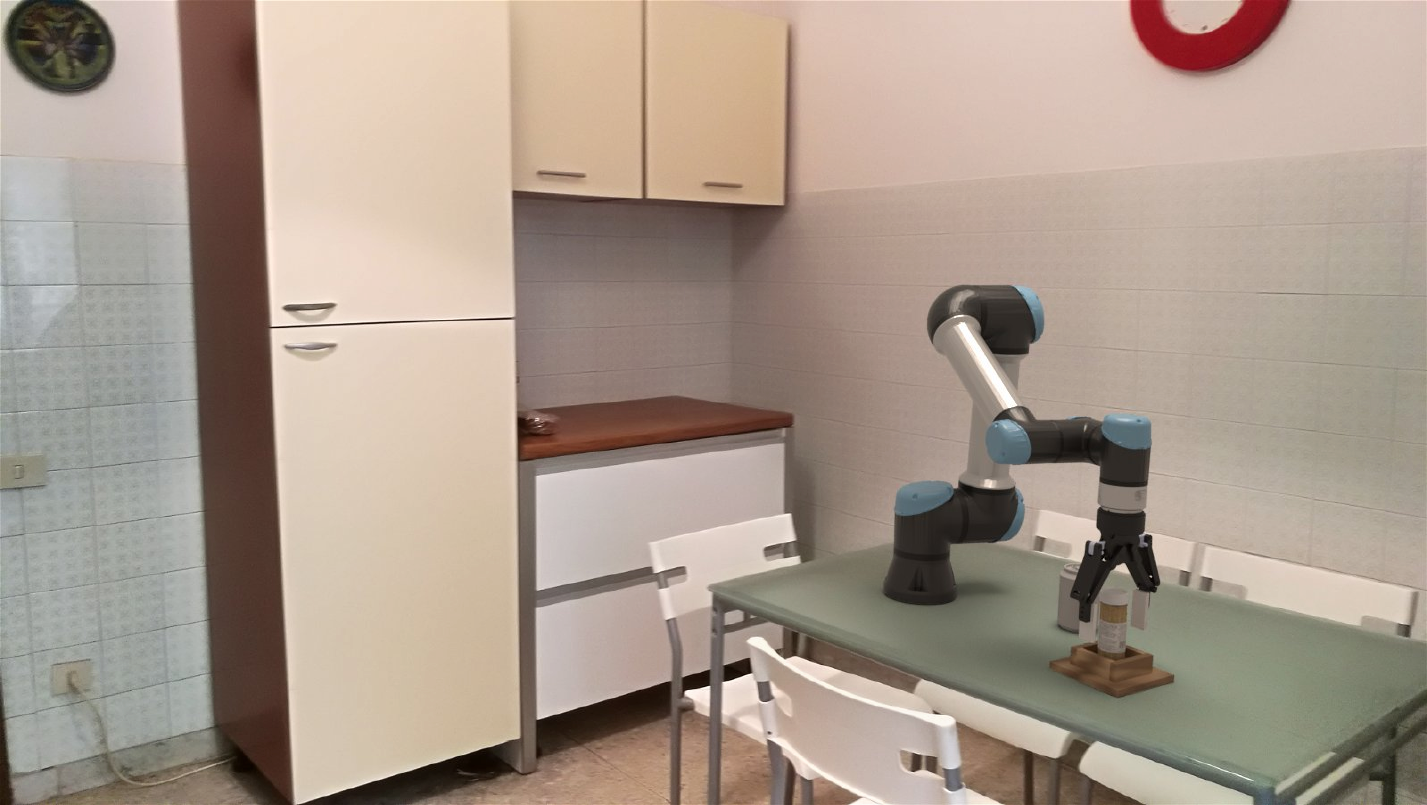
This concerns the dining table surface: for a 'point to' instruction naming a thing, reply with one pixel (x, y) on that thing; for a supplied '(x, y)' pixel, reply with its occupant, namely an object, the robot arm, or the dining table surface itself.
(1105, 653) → the sprinkles bottle
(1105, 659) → the holder
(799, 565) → the dining table surface
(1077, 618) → the can
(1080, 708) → the dining table surface
